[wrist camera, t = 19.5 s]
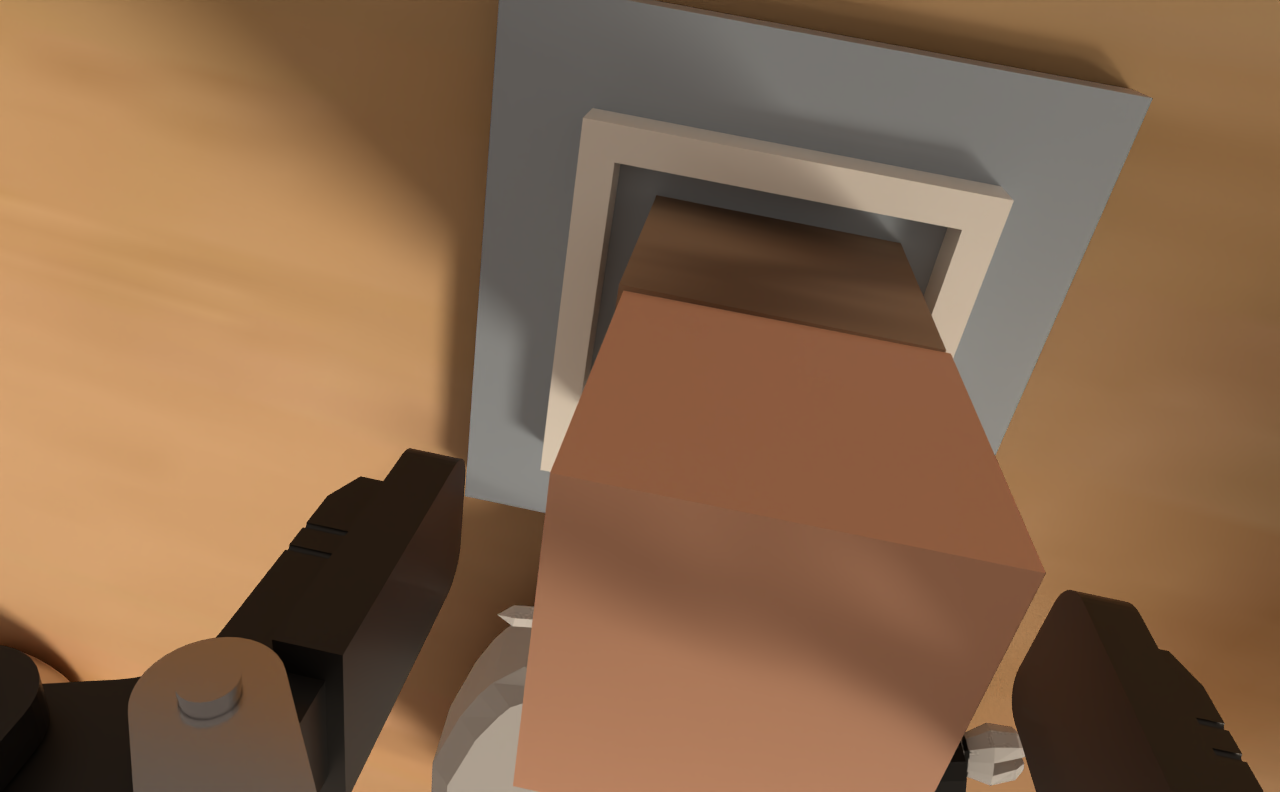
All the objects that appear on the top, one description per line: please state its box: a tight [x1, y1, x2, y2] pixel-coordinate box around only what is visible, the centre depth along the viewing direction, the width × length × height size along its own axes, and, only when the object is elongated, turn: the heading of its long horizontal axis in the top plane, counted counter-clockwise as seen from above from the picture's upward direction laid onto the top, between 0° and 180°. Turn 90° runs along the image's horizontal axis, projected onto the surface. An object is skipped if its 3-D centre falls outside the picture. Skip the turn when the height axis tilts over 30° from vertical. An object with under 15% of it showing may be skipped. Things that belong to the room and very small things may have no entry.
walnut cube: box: [615, 195, 946, 352], centre depth 16 cm, size 5×5×5 cm
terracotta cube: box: [513, 290, 1046, 792], centre depth 12 cm, size 5×5×5 cm
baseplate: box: [465, 0, 1153, 513], centre depth 18 cm, size 12×12×2 cm
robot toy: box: [432, 605, 1025, 792], centre depth 24 cm, size 12×4×15 cm
